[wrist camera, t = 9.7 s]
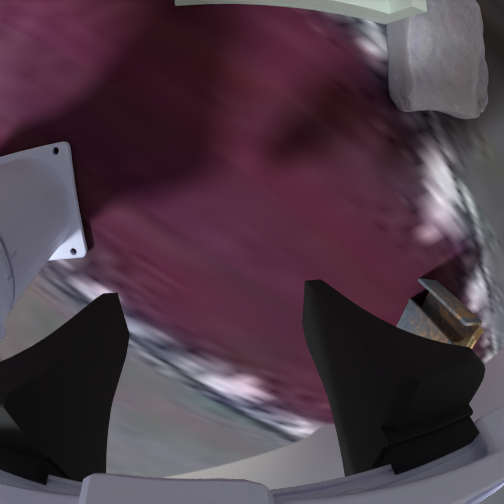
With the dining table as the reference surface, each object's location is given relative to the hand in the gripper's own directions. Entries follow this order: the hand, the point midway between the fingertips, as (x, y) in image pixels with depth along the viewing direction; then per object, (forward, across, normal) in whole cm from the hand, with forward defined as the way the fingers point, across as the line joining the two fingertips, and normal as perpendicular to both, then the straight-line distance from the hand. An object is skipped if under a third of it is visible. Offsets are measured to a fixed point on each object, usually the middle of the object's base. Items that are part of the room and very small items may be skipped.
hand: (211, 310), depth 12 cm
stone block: (+12, -17, -14) cm, 25 cm away
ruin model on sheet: (+12, -18, +13) cm, 25 cm away
